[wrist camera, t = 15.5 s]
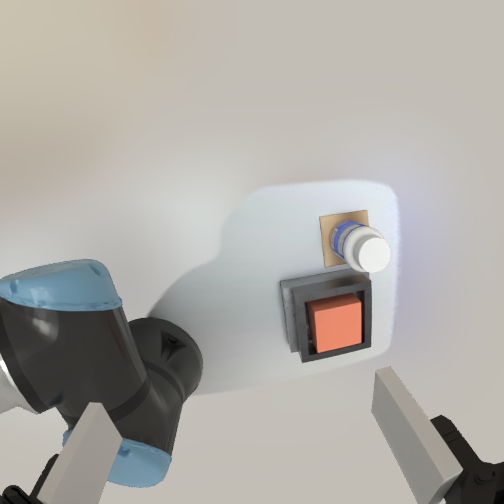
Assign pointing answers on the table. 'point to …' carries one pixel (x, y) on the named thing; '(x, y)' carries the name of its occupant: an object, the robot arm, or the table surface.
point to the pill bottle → (360, 246)
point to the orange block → (335, 321)
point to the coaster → (326, 228)
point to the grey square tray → (320, 288)
